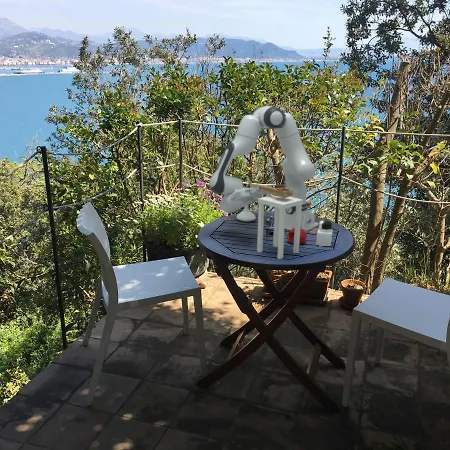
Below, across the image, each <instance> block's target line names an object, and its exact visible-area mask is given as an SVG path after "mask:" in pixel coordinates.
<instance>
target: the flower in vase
mask: <svg viewBox="0 0 450 450" xmlns="http://www.w3.org/2000/svg"><path fill="white" fill-rule="evenodd" d="M246 181H247V183H248V184H247V186H246V188H249V186H250V188H254V184H253V182H252V180H251V179H250V178H249V177H246ZM236 219H237V220H239V221H242V222H252V221H255V220H256V219H257V216H256V215H255V214H254V213H253V212H251V211H250V209H249V204H248V205H246V206H244V207H243V210H242V211H241V212H239V213H238V214H237V215H236Z"/></svg>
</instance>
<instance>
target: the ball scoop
mask: <svg viewBox="0 0 450 450" xmlns="http://www.w3.org/2000/svg"><path fill="white" fill-rule="evenodd" d="M263 185H264V184H257V183H256V184H253V186H254V188H255V187H258V186H260V190H259V191H261V192H265V193H266V194H270V195H273V196H277V197H281V198H287V197H290V196H293V190H291V189H287V188H286V187H278V188H275V187H271V186H268V185H267V186H263Z"/></svg>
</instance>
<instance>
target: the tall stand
mask: <svg viewBox="0 0 450 450" xmlns="http://www.w3.org/2000/svg"><path fill="white" fill-rule="evenodd" d="M257 203H258V212H257V213H258V214H257V215H258V218H257V244H256V245H257V247H256V252H257V253H259V254H260V253H262V252H263V250H264V249H263V244H264V221H265V219H264V218H265V217H264V216H265V206H270V207H273V208H274V219H273V239H272V242H273V243H272V246H273V247H274V248H277V257H276V258H278V259H277V260H279V259H282V258H283V259H284V245H285V230H286V229H285V211H286V208H290V207H293V206H296V216H295V233H294V244H293V251H292V252H293V254H295V253H298V254H299V253H300V244H299V240H300V225H301V209H302V204H303V200H302V199H298V198H293V197H287V198H281V197H277V196H273V194H270V195H268V196H262V197H259V198H258V200H257ZM283 259H282V260H283Z"/></svg>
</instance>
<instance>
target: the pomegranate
mask: <svg viewBox="0 0 450 450" xmlns="http://www.w3.org/2000/svg"><path fill="white" fill-rule="evenodd" d="M291 228H293V229H291V230H289V231H288V232H287V234H286V239H287V241H288V243H290V244H292V245H294V233H295V228H294V227H291ZM300 228H302V227H300ZM307 237H308V235H307V231H304V229H300V240H299V245H303V244H305V242H306V241H307Z"/></svg>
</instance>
